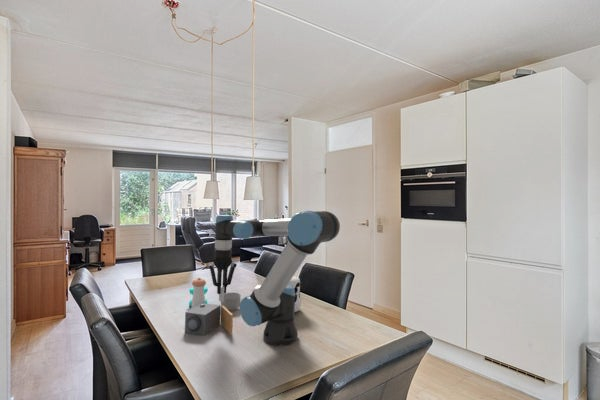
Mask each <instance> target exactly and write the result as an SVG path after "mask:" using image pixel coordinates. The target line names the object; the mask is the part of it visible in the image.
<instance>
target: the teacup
mask: <svg viewBox="0 0 600 400" xmlns="http://www.w3.org/2000/svg"><path fill="white" fill-rule="evenodd" d="M240 302H241V293H239V292H226V293H225V294H224V302H220V305H221V306H222V305H223V306H224V307H225V308H226V309H227V310H228V311H230V312H234V311H237V309H240Z"/></svg>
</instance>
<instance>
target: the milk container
mask: <svg viewBox="0 0 600 400" xmlns="http://www.w3.org/2000/svg"><path fill="white" fill-rule="evenodd" d="M288 286H291V287H293V288H294V290H295V308H294V314H296V313H298V312H299V311H300V310H301V307H302V299H301V294H300V293H301V291H300V289H301V279H300V278H299V277H298V276H295V275H294V276H293V277H292V279H291V280H290V282H289V283H288Z"/></svg>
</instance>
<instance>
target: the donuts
mask: <svg viewBox="0 0 600 400" xmlns="http://www.w3.org/2000/svg"><path fill="white" fill-rule="evenodd" d="M189 293H190V295H192V296H193V287H191V288H190V289H189ZM207 293H208V287H206V286H204V295H206V294H207ZM205 303H206V304H208V300H207V299H206V298H205ZM188 305H189V306H190V307H191V308H192V299H191V300H189V303H188Z"/></svg>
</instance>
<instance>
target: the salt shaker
mask: <svg viewBox="0 0 600 400" xmlns="http://www.w3.org/2000/svg"><path fill="white" fill-rule="evenodd" d="M191 284H192V286H193V295H192V297H191V298H192V299H191V300H192V307H191V308H190V310H191V309H192V308H194V307H196V306H198V305H200V304H202V303H205V299H206V298H205V294H204V287H205V286H206V284H207V281H206V280H205V279H203V278H201V277H198V278H195V279H194V280H192V281H191Z"/></svg>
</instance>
